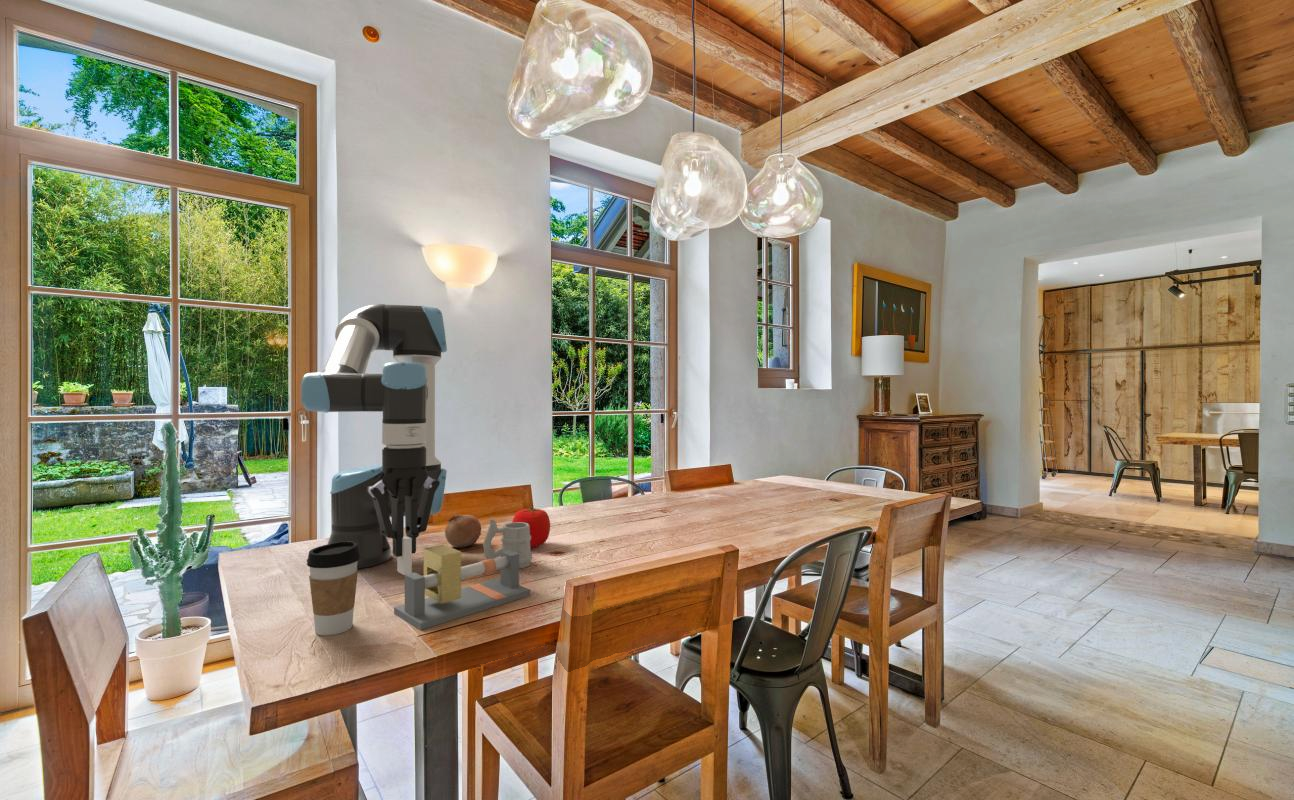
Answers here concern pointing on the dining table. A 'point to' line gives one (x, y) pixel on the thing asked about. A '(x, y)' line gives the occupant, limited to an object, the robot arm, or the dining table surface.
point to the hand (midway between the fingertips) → (404, 572)
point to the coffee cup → (333, 586)
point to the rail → (462, 592)
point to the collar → (443, 572)
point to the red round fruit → (535, 524)
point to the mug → (510, 541)
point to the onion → (462, 530)
